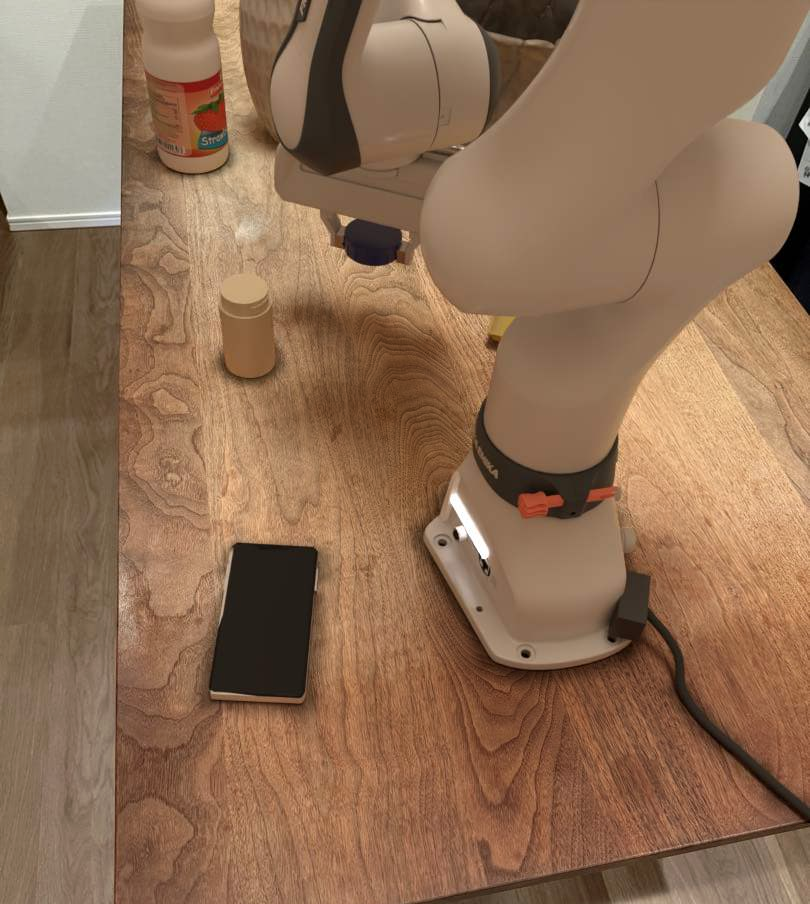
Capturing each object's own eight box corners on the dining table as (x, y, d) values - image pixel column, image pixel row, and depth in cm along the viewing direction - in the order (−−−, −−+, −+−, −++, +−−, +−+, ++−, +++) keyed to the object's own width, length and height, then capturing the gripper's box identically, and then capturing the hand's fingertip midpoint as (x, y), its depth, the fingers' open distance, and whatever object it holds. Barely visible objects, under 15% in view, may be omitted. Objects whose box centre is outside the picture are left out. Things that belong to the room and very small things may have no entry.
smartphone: (205, 693, 70) (230, 541, 79) (207, 700, 71) (231, 549, 80) (306, 698, 70) (320, 546, 79) (306, 704, 71) (320, 554, 80)
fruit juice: (167, 134, 120) (131, -108, 98) (235, 141, 120) (215, -99, 98) (150, 171, 115) (109, -77, 92) (222, 179, 115) (198, -66, 92)
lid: (374, 224, 95) (375, 209, 93) (412, 252, 92) (414, 236, 91) (331, 245, 92) (332, 229, 90) (370, 274, 90) (370, 258, 88)
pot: (456, 100, 132) (476, -62, 115) (603, 147, 127) (647, -15, 110) (381, 178, 118) (391, 6, 101) (543, 235, 113) (583, 64, 96)
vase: (355, 145, 122) (363, -91, 100) (275, 168, 117) (264, -75, 95) (309, 103, 128) (306, -129, 105) (230, 123, 123) (210, -116, 100)
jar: (279, 375, 94) (275, 302, 86) (228, 380, 93) (219, 307, 85) (271, 341, 97) (267, 269, 89) (222, 346, 96) (213, 273, 88)
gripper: (494, 134, 82) (473, 259, 93) (288, 86, 84) (292, 214, 95) (478, 169, 78) (458, 294, 90) (264, 118, 80) (270, 247, 92)
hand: (371, 252), depth 92 cm, fingers closed on lid, 6 cm apart
